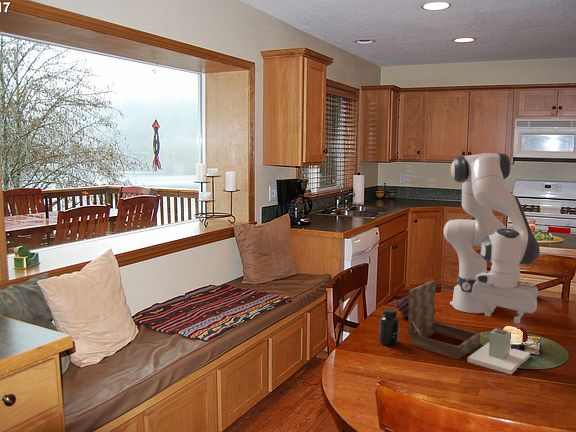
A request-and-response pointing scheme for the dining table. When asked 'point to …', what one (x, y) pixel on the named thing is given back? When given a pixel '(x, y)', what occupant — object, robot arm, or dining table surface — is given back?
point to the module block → (499, 343)
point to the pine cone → (404, 306)
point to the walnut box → (435, 325)
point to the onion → (525, 335)
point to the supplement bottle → (389, 327)
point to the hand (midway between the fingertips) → (502, 319)
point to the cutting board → (498, 364)
